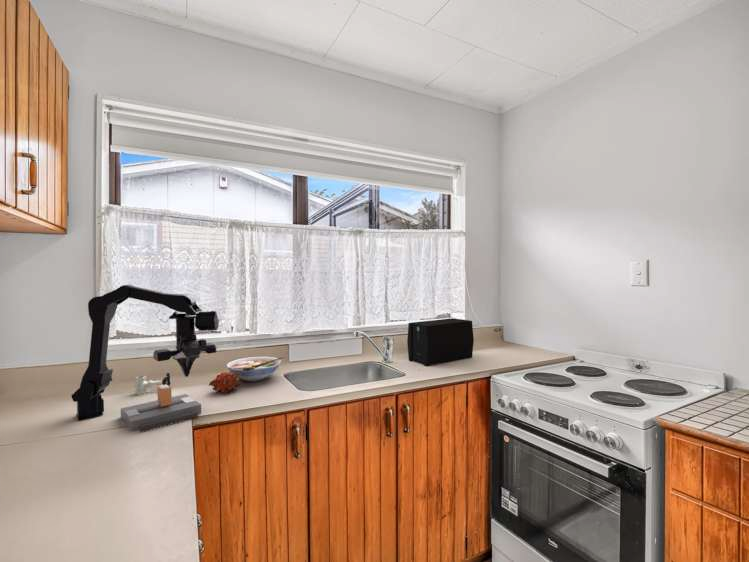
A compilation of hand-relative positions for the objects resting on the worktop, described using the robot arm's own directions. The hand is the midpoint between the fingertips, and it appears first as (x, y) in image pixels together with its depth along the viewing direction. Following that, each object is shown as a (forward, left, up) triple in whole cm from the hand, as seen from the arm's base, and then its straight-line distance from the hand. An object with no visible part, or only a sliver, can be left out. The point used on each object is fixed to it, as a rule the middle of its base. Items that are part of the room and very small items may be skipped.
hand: (186, 376), depth 128 cm
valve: (-3, +30, -12) cm, 32 cm away
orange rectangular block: (-7, 0, -8) cm, 10 cm away
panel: (-8, 0, -11) cm, 14 cm away
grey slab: (-8, 0, -11) cm, 14 cm away
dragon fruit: (+17, +9, -12) cm, 22 cm away
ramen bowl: (+33, +17, -12) cm, 39 cm away
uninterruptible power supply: (+121, -20, -12) cm, 123 cm away
